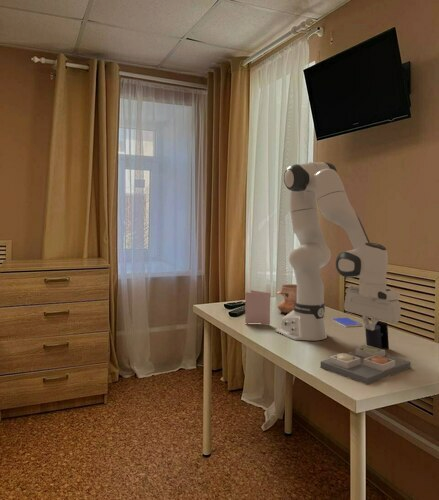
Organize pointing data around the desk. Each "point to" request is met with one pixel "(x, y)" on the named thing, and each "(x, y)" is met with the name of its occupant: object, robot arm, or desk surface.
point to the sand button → (345, 357)
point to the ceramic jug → (288, 297)
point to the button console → (365, 366)
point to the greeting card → (257, 307)
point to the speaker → (378, 336)
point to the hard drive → (347, 322)
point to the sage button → (370, 349)
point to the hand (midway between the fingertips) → (369, 329)
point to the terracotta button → (379, 359)
